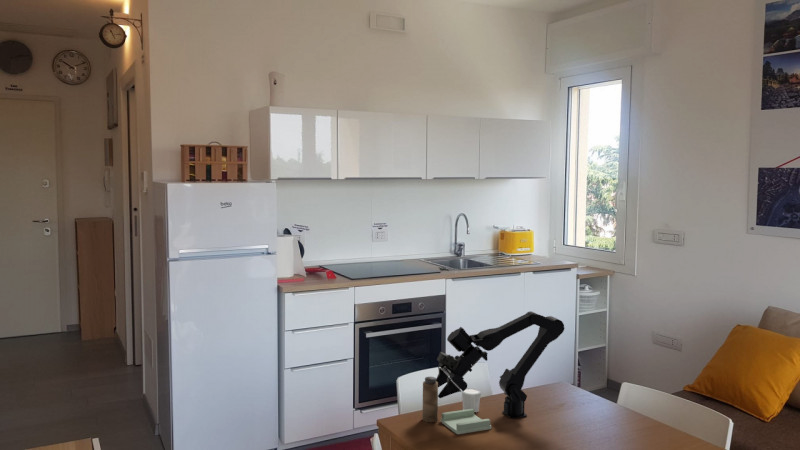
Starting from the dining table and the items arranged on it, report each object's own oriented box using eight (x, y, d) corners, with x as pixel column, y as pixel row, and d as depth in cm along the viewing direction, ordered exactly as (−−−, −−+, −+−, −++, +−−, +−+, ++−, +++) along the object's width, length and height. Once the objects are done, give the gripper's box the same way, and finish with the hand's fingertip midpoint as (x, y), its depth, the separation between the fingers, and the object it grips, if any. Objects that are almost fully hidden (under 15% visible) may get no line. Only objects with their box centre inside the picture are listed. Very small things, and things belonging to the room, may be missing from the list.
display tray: (473, 416, 216) (473, 408, 215) (491, 428, 205) (491, 419, 204) (440, 421, 210) (440, 413, 210) (457, 434, 199) (457, 425, 199)
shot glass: (479, 414, 218) (480, 394, 218) (460, 412, 219) (460, 393, 219) (481, 407, 225) (481, 388, 224) (462, 406, 226) (462, 387, 226)
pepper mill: (433, 416, 216) (433, 375, 215) (440, 421, 211) (440, 379, 210) (420, 418, 213) (420, 377, 213) (426, 423, 209) (426, 381, 208)
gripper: (444, 338, 221) (414, 369, 220) (458, 351, 203) (425, 385, 201) (465, 359, 223) (435, 390, 222) (481, 374, 205) (448, 408, 203)
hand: (435, 392), depth 212 cm, fingers open, 9 cm apart
